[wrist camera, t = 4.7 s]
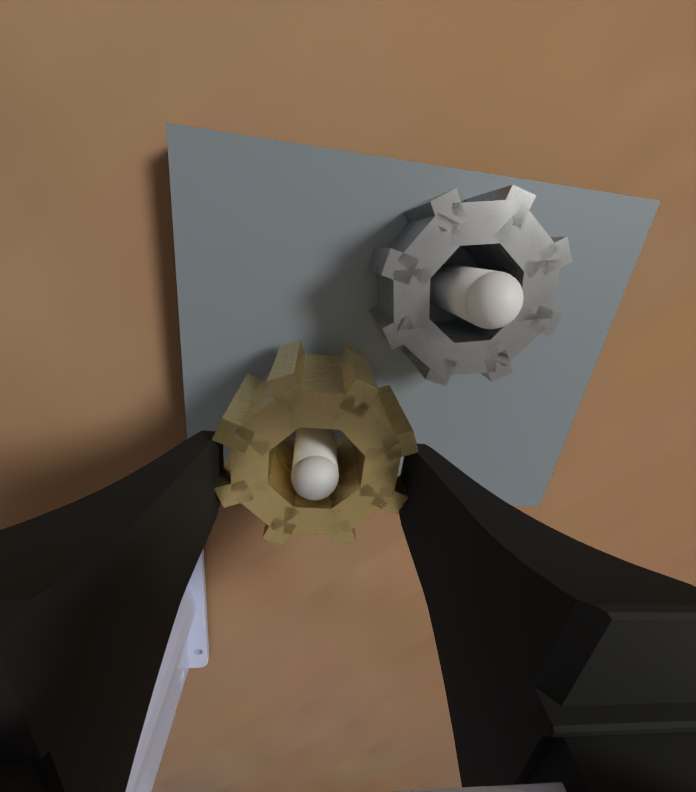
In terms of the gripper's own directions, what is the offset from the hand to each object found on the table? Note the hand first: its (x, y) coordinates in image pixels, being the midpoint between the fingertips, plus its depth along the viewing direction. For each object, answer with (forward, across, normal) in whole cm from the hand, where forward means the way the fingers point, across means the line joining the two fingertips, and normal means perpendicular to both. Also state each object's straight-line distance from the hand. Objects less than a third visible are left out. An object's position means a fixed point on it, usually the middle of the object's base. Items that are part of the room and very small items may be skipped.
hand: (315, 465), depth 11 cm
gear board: (+5, -3, -2) cm, 6 cm away
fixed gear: (+3, -4, -6) cm, 8 cm away
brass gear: (+2, 0, 0) cm, 2 cm away
